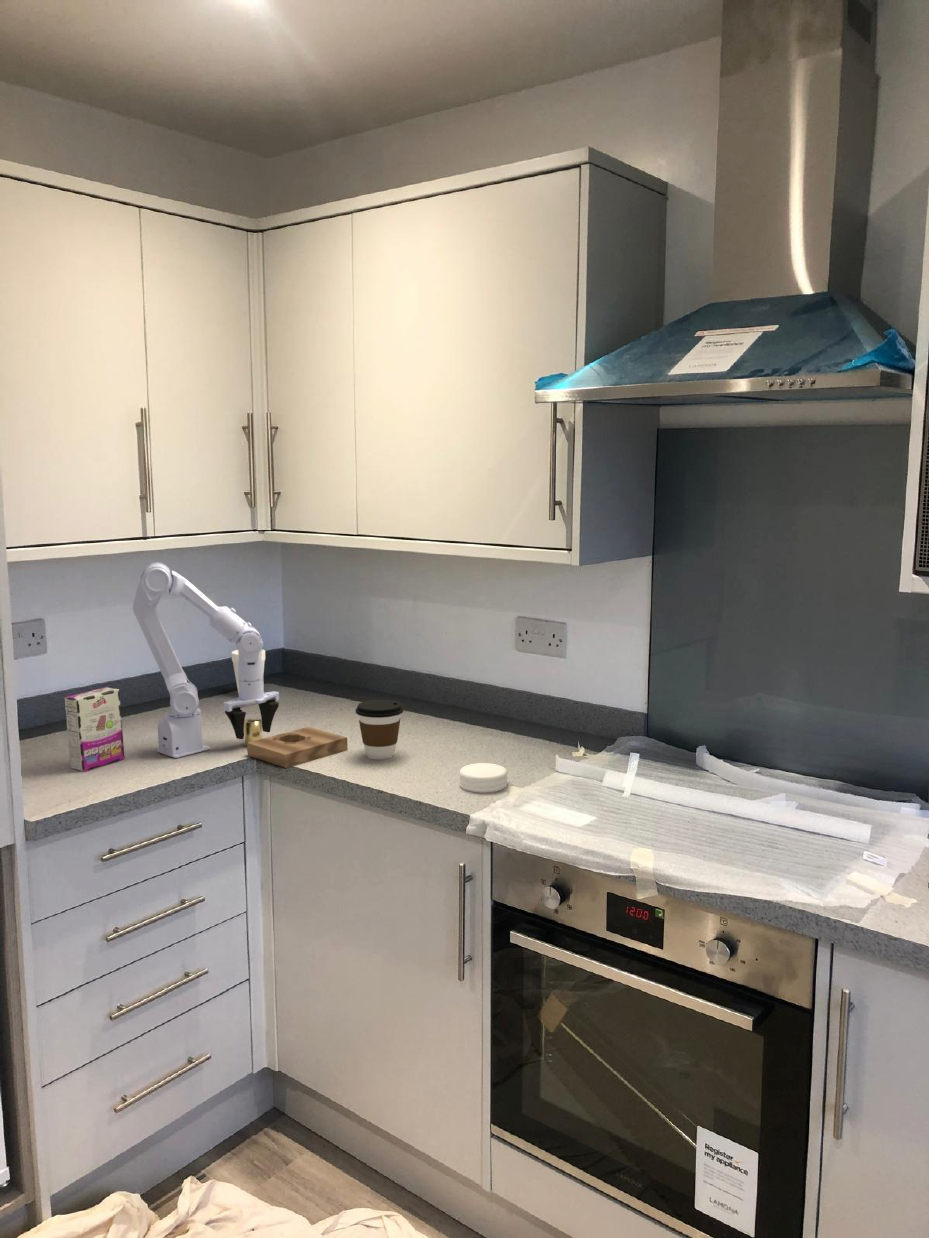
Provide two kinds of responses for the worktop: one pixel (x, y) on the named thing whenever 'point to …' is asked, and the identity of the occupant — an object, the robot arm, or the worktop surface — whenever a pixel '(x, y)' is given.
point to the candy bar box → (94, 728)
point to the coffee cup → (379, 727)
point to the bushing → (252, 730)
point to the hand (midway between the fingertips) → (253, 734)
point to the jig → (297, 746)
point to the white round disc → (483, 777)
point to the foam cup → (235, 663)
